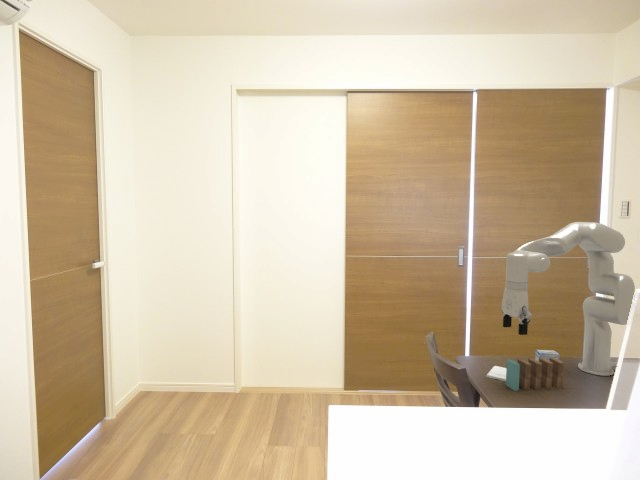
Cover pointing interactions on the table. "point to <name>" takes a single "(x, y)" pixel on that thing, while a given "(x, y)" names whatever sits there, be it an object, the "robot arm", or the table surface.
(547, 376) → the brown flat rectangular block
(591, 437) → the table surface
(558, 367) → the tile
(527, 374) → the tile
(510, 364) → the tile
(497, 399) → the table surface
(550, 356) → the medicine box
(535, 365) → the brown wooden block
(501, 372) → the external hard drive
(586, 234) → the robot arm
